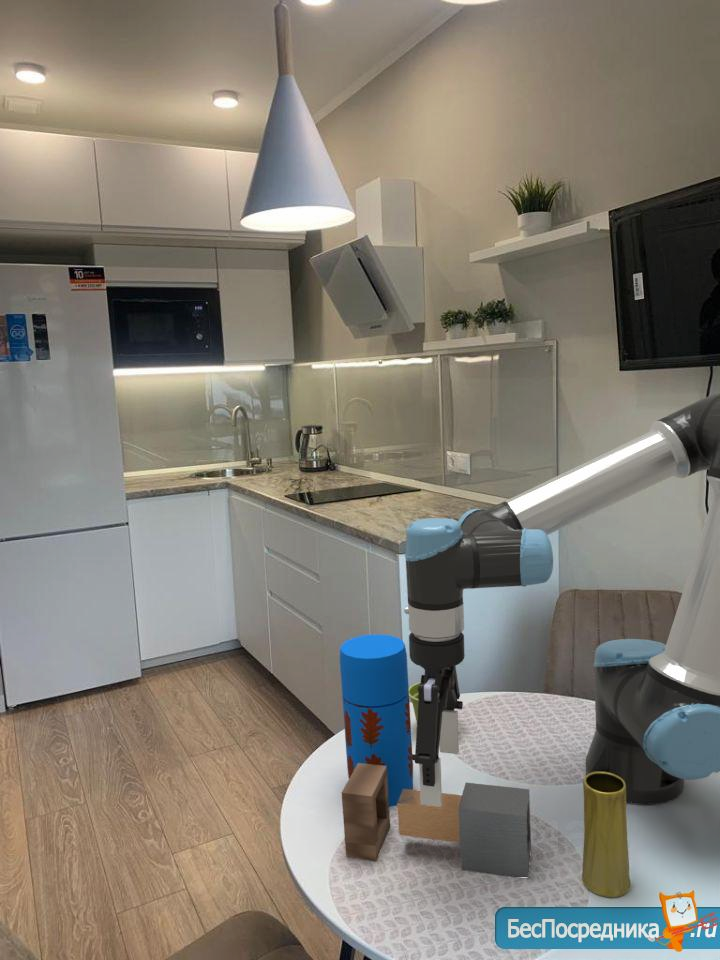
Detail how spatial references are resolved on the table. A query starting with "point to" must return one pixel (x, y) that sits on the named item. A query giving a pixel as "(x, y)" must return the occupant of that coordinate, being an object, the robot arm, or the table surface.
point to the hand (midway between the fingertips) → (440, 776)
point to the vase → (605, 835)
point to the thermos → (377, 708)
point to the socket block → (366, 811)
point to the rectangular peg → (429, 817)
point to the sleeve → (495, 830)
